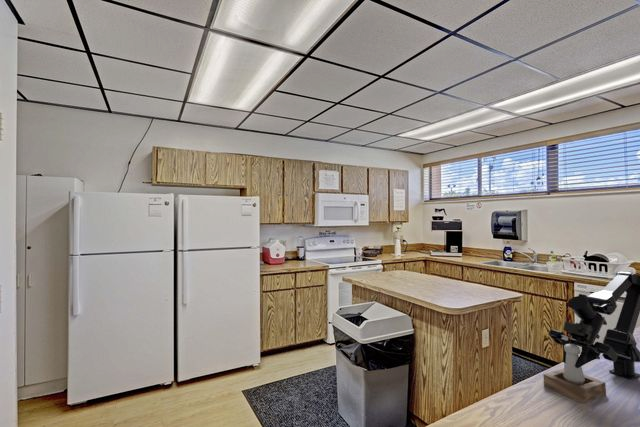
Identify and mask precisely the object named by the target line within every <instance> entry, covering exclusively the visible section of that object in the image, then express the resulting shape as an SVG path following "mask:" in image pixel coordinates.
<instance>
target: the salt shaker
mask: <svg viewBox="0 0 640 427" xmlns="http://www.w3.org/2000/svg"><path fill="white" fill-rule="evenodd" d="M564 350H565V352H566V362H565V363H564V365H563V366H564V367H563V369H564V372H563V376H564V378H565V380H566V381H567V382H570V383H572V384H575V385H577V386H581V385H582V384H583V383H584V381H585V378H584V375H585V374H584V370H583V367H582V366H581V367H579V368H576V367H575V364H576V362H577V360H578V358H579V356H580V354H581V349H580V346H577V345H573V344H566V345H564Z"/></svg>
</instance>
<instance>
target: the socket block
mask: <svg viewBox="0 0 640 427" xmlns="http://www.w3.org/2000/svg"><path fill="white" fill-rule="evenodd" d="M563 372H564V368H561V369H557V370H554V371H551V372H550V371H549V372H547V373H543V374H542V375H543V386H544V387H545V386H546V388H548V389H550V390H552V391H554V392H557V393H559V394H561V395H563V396H565V397H568V398H570V399H572V400H574V401H576V402H579V403H580V404H585V403H587V402H590V401H593V400H595V399H599V398H601V397H604V396H606V395H607V389H606V386H607V385H606V382H605V381H602V380H600V379H597V378H594V377H591V376H589V375H587V374H584V378H585V381H584V383H583V384H582V385H581V386H577V385H575V384H572V383H570V382H567V381H566V380H565V378H564V376H563Z"/></svg>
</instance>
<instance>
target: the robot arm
mask: <svg viewBox="0 0 640 427" xmlns="http://www.w3.org/2000/svg"><path fill="white" fill-rule="evenodd" d="M624 293H626V294H625V298H624V301H623V304H622V306H621V309H620V313H619V315H618V316H619V317H618V319H617V321H616V325H615V327H614V328H612V329H611V328H608V329H607V330H606V333H605V336H604V337H603V341H602V342H600V341H596V340H597V339H598V340H599V339H600V335H599V333H600V331H601V329H602V326H607V325H608V323H607V321H606V318H605V316H603V315H607V316H611V315H613V313H614V312H615V311H616V309H617V307H618V305H617V301H618V300H619V298H621V296H623V294H624ZM567 305H568V307H569V308H570V309H571V311H572V312H573V313H574V314H575V316H577V317H578V318H579V319H580V320H579V322H575V323H574V322H569V321H564V324H563V329H562V330H563V331H565V332H567V333H568V335H569V336H570V337H569V336H567V335H566V334H565V333H564V332H563V331H561V330H557V329H555V328H554V329H553V328H552V329H550V330H549V331H548V333H547V335H548V336H549V338H551V339H552V341H554V342H555V343H556V344H557V345H560V346H562V348H563V349H562V350H563V352H562V353H563V355H562V357H563V358H562V362H563V363H564V364H565V362H566V352H565V350H564V345H566V344H573V345H577V346H578V347H579V348H580V347H581V351H580V353H579V355H578V356H579V358H578V360H577V362H576V364H575V367H576V368H579V367H582V366H585V365H586V364H589V363H590V362H593V361H594V360H600V359H601V357H600V355H601V354H602V357H603V359H604V360H607V361H610V362H612V364H613V366H612V367H613V368H612V369H609V370H608V372H609V373H612V374H613V375H614V374H615V375H617V376H620V377H622V378H626V379H627V380H628V379H629V380H633V379H635V378H638V377H640V373H637V372H636V370H635V369H636V367H635V363H640V350H639V349H638V348H637V342H636V341H637V340H636V339H635V337H634V332H635V328H636V326H637V322H638V321H639V320H638V318H639V316H640V274H638V273H637V274H636V273H634V272H628V271H618V272H616V274H615V277H613V279H611V281H610V282H609V283H608V284H606V285H605V287H603V289H602V290H600V291H596V292H593V293H591V294H590V295H588V296H587V294H583V293H579V294H578V295H576V296H573V297H572V298H569V300H568V302H567ZM602 314H603V315H602Z"/></svg>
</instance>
